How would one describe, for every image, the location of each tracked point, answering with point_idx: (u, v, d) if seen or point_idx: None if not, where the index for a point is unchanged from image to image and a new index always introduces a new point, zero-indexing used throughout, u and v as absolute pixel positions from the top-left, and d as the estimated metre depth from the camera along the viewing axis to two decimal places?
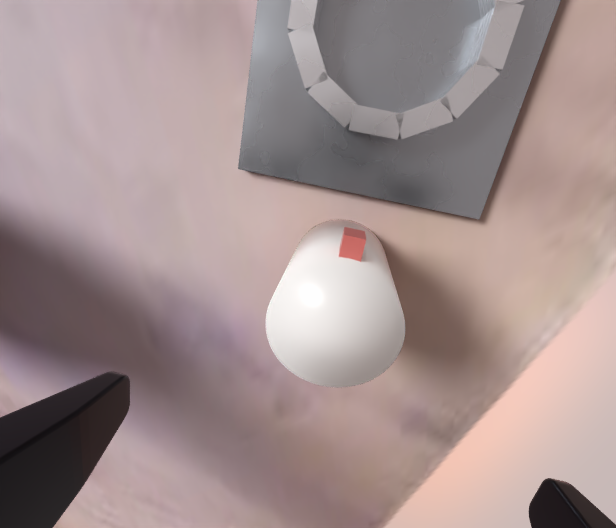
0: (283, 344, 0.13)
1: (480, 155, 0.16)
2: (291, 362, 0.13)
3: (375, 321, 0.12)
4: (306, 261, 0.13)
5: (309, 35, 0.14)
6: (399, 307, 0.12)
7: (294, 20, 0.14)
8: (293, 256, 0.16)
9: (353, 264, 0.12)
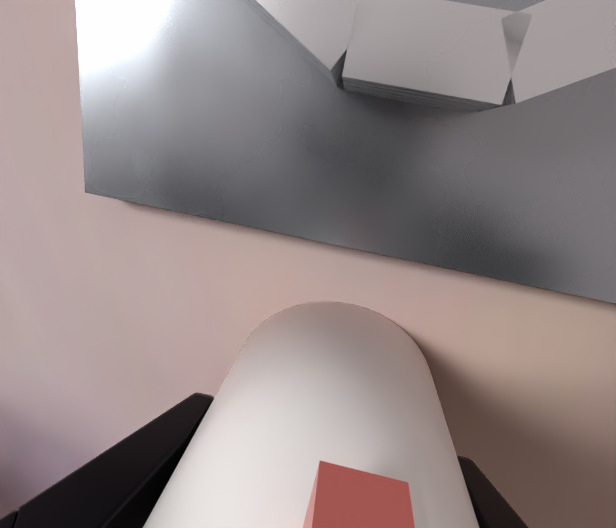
0: None
1: None
2: None
3: None
4: None
5: None
6: None
7: None
8: (193, 439, 0.06)
9: None
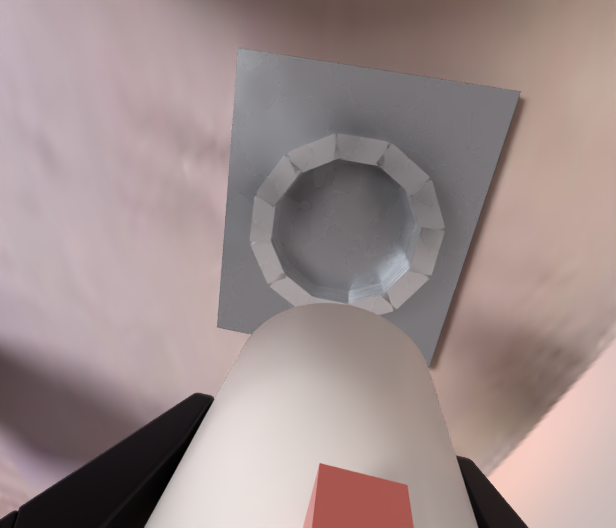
0: None
1: (424, 322, 0.18)
2: None
3: None
4: None
5: (268, 246, 0.16)
6: None
7: (255, 235, 0.16)
8: (193, 440, 0.06)
9: None
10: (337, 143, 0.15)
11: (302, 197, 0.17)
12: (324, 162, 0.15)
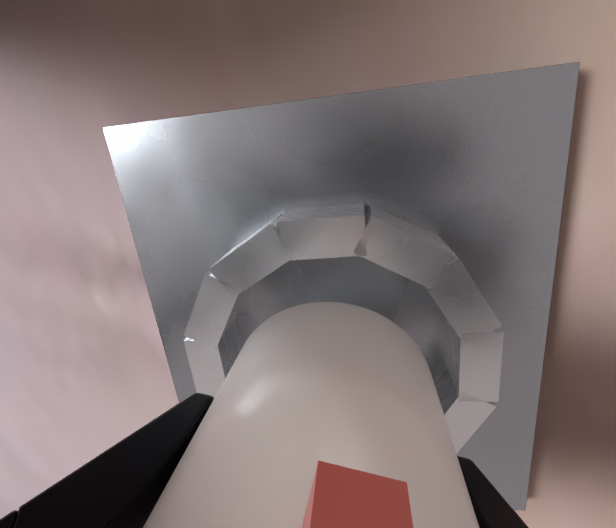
0: None
1: (501, 447, 0.12)
2: None
3: None
4: None
5: None
6: None
7: (204, 392, 0.11)
8: (192, 439, 0.06)
9: None
10: (281, 237, 0.09)
11: (263, 311, 0.11)
12: (270, 270, 0.09)
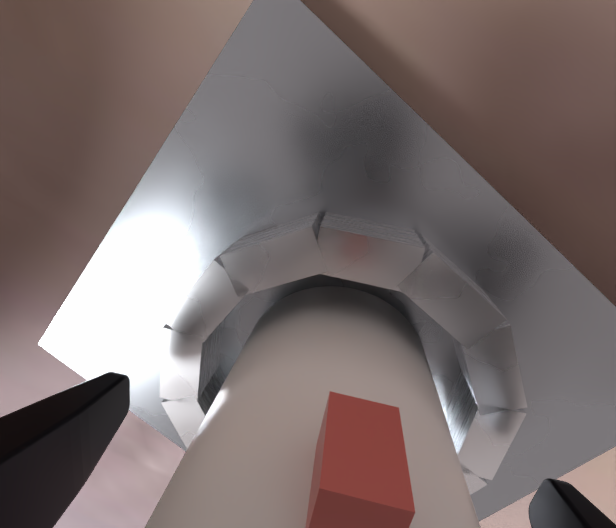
0: None
1: (597, 349, 0.09)
2: None
3: None
4: None
5: None
6: None
7: None
8: (215, 399, 0.07)
9: None
10: (179, 330, 0.08)
11: None
12: (198, 362, 0.09)
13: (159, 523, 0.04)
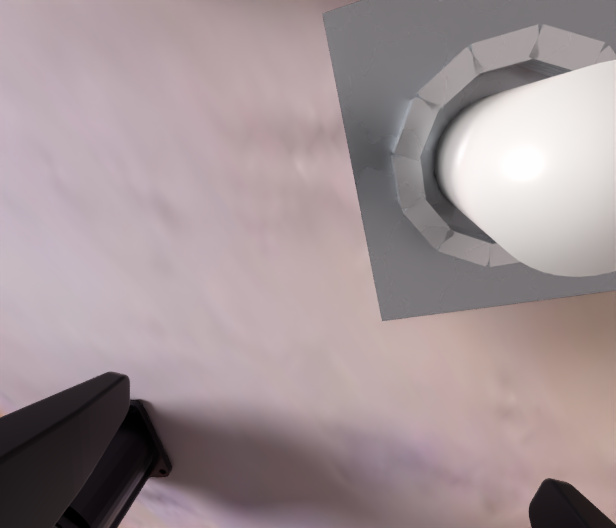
0: (512, 157, 0.08)
1: None
2: (497, 190, 0.09)
3: None
4: None
5: (424, 207, 0.14)
6: None
7: (406, 200, 0.15)
8: (518, 87, 0.11)
9: None
10: (474, 55, 0.12)
11: (438, 142, 0.15)
12: (465, 84, 0.13)
13: None
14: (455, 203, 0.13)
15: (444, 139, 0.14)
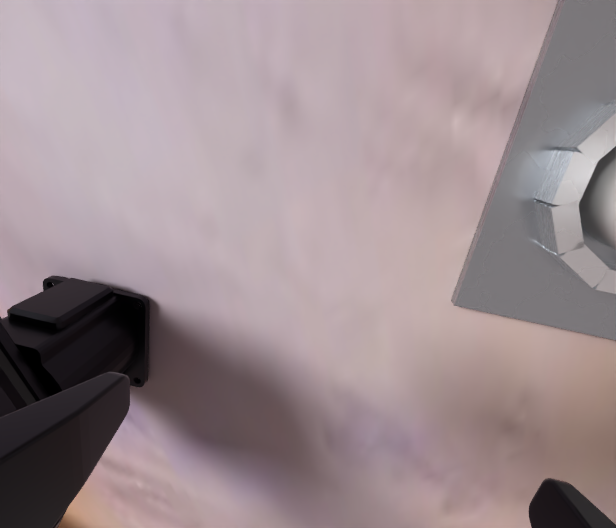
0: None
1: None
2: None
3: None
4: None
5: (573, 210, 0.15)
6: None
7: (560, 197, 0.14)
8: None
9: None
10: None
11: (602, 157, 0.15)
12: None
13: None
14: None
15: None
